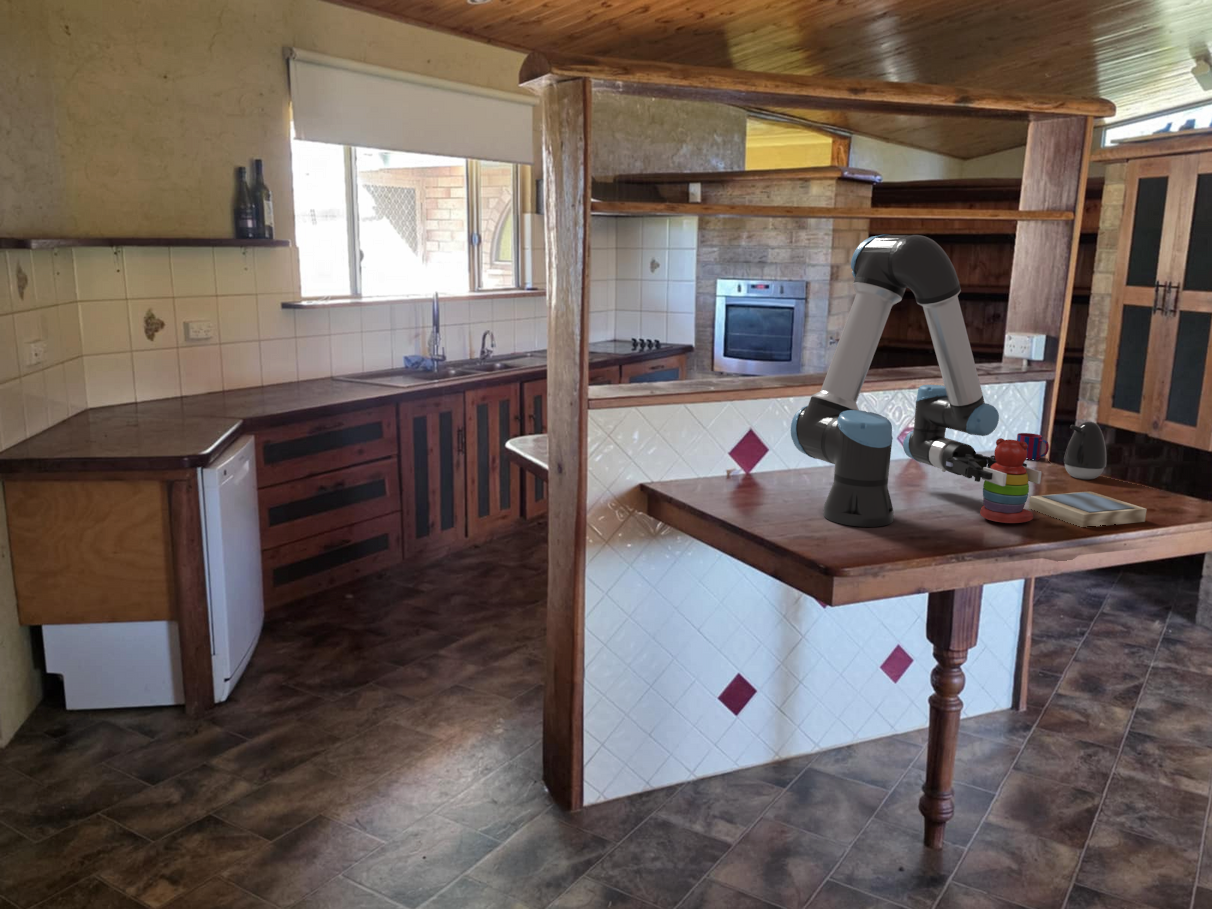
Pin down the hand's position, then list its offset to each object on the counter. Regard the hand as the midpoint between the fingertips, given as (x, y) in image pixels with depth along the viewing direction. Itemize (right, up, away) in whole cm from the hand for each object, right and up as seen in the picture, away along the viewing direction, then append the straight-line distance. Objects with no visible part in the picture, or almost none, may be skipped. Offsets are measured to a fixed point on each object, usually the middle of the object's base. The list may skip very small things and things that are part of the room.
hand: (1022, 478), depth 207 cm
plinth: (+20, -9, +13) cm, 26 cm away
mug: (+34, +4, +71) cm, 79 cm away
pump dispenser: (+38, -1, +50) cm, 63 cm away
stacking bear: (-1, -9, +6) cm, 11 cm away
